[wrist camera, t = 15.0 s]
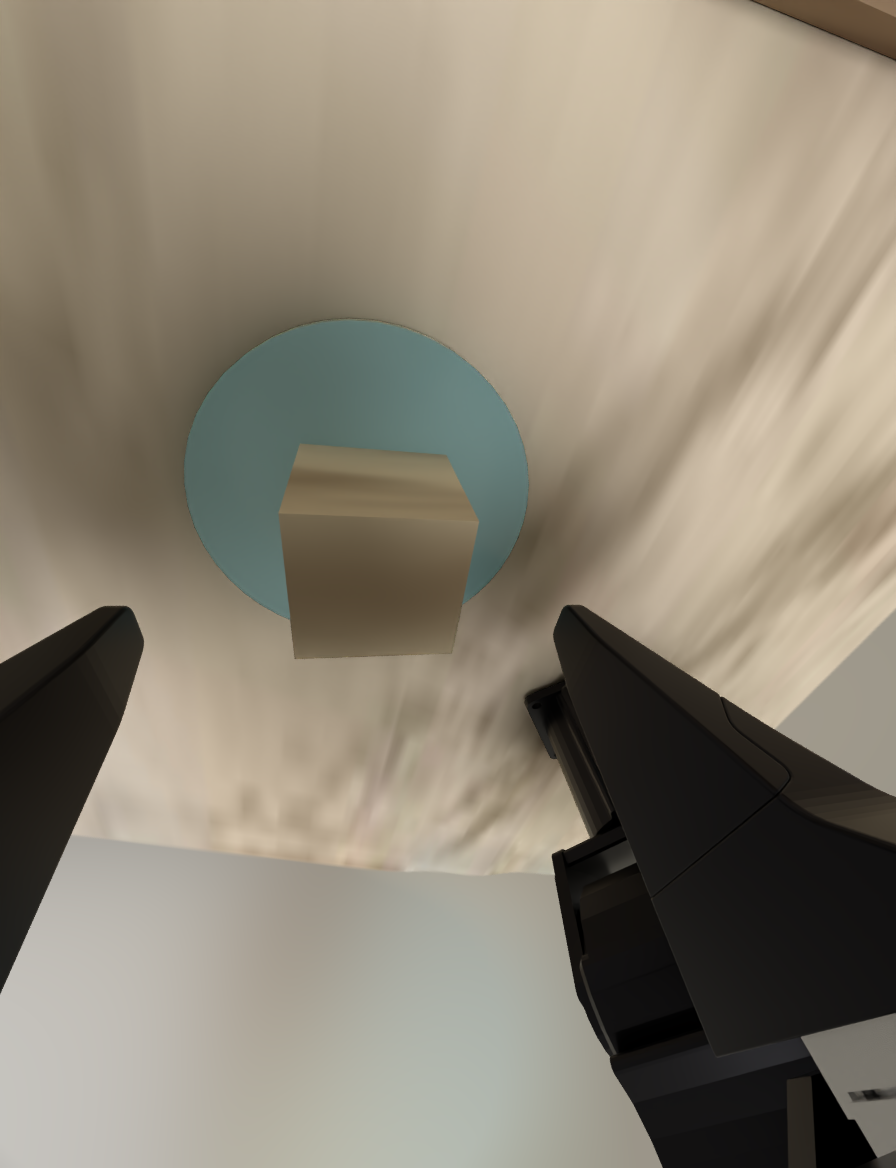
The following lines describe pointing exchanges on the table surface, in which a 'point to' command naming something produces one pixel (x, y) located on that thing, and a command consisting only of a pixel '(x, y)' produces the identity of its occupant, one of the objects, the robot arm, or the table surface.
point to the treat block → (374, 552)
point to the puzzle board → (848, 19)
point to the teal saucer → (345, 439)
